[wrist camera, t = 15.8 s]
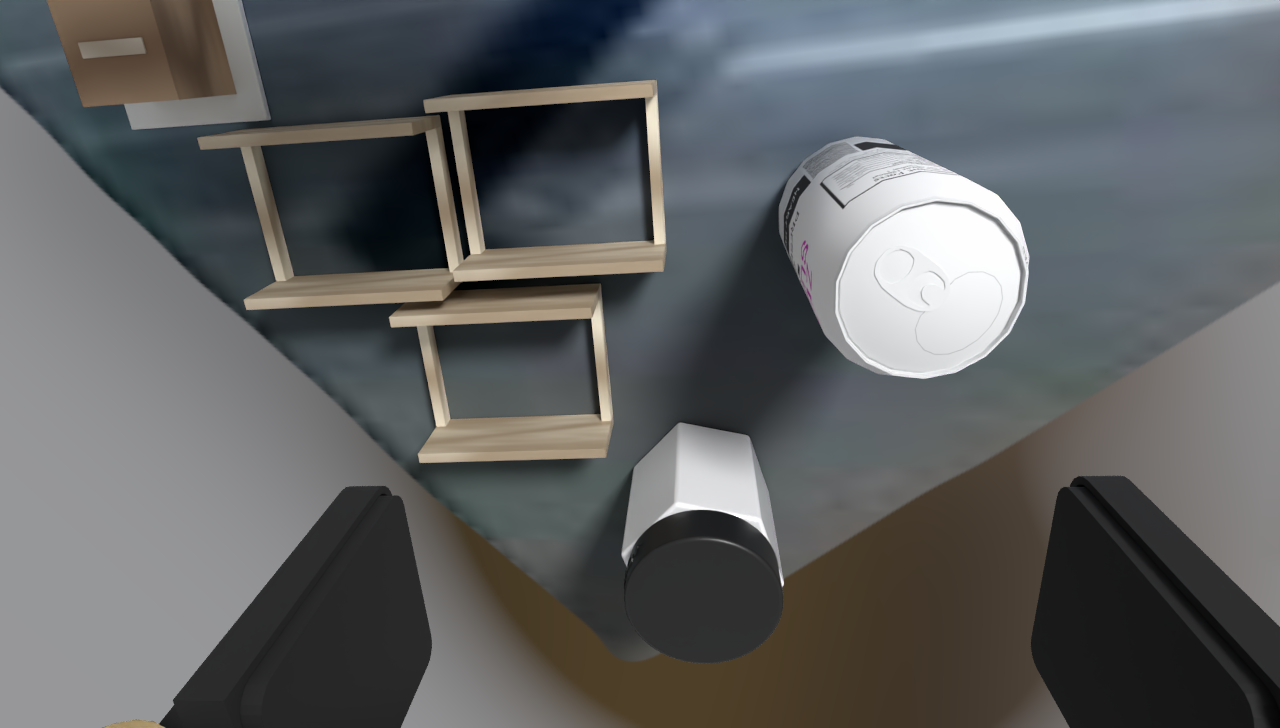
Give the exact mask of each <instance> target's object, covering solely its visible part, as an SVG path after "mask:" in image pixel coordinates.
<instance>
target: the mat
mask: <svg viewBox="0 0 1280 728" xmlns="http://www.w3.org/2000/svg"><path fill="white" fill-rule="evenodd" d="M212 2H213V6H214V10H215V13H216V17H217V21H218V25H219V28H220V32H221V36H222V40H223V44H224V47H225V51H226V55H227V59H228V62H229V66H230V70H231V74H232V78H233V81H234V85H235V89H236V93H237V94H232V95H222V96H212V97H202V98H192V99H181V100H169V101H156V102H144V103H131V104H124V106H125V109H126V112H127V115H128V118H129V121H130V125H131V128H132V130H137V129H151V128H165V127H179V126H193V125H207V124H221V123H235V122H249V121H263V120H271V117H270V113H269V108H268V104H267V100H266V96H265V92H264V88H263V84H262V80H261V76H260V72H259V68H258V64H257V60H256V56H255V52H254V48H253V44H252V40H251V36H250V32H249V28H248V24H247V20H246V16H245V12H244V8H243V4H242V0H212Z"/></svg>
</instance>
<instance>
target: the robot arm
mask: <svg viewBox="0 0 1280 728" xmlns="http://www.w3.org/2000/svg"><path fill="white" fill-rule="evenodd" d="M431 649H432V640H431V633H430V628H429V623H428V618H427V614H426V609H425V604H424V599H423V594H422V590H421V585H420V580H419V575H418V571H417V566H416V561H415V556H414V552H413V546H412V542H411V537H410V532H409V527H408V522H407V518H406V513H405V508H404V504H403V501H402V499H401V498H400V497H399V496H392V494H391V492H390V490H389V488H387V487H386V486H355V487H354V486H353V487H346V488H345V489H343V490H342V491H341V493H340V494H339V495H338V496H337V497H336V499H335V500H334V501H333V502H332V504H331V505H330V506H329V507H328V509H327V510H326V511H325V512H324V514H323V515H322V516H321V517H320V519H319V520H318V521H317V522H316V524H315V525H314V526H313V527H312V528H311V530H310V531H309V532H308V534H307V535H306V536H305V537H304V539H303V540H302V541H301V542H300V543H299V545H298V546H297V547H296V548H295V550H294V551H293V552H292V553H291V555H290V556H289V557H288V558H287V559H286V561H285V562H284V563H283V564H282V566H281V567H280V568H279V569H278V571H277V572H276V573H275V574H274V576H273V577H272V578H271V579H270V580H269V582H268V583H267V584H266V585H265V587H264V588H263V589H262V590H261V592H260V593H259V594H258V595H257V597H256V598H255V599H254V601H253V602H252V603H251V604H250V605H249V606H248V608H247V609H246V610H245V611H244V613H243V614H242V615H241V616H240V618H239V619H238V620H237V621H236V623H235V624H234V625H233V626H232V628H231V629H230V630H229V631H228V633H227V634H226V635H225V636H224V637H223V639H222V640H221V641H220V642H219V644H218V645H217V646H216V648H215V649H214V650H213V651H212V652H211V654H210V655H209V656H208V657H207V658H206V660H205V661H204V662H203V663H202V665H201V666H200V667H199V668H198V670H197V671H196V672H195V673H194V675H193V676H192V677H191V678H190V680H189V681H188V682H187V683H186V685H185V686H184V687H183V688H182V690H181V691H180V692H179V693H178V694H177V696H176V697H175V698H174V699H173V702H174V706H173V707H172V708H171V710H170V711H169V712H168V714H167V715H166V716H165V717H164V718H163V720H162V721H161V722H160V724H157V723H155V722H153V721H142V720H132V721H126V722H120V723H114V724H111V725H109V726H106V727H103V728H401V725H402V723H403V721H404V718H405V716H406V714H407V712H408V709H409V707H410V705H411V702H412V700H413V698H414V695H415V693H416V691H417V689H418V686H419V684H420V682H421V680H422V677H423V675H424V673H425V670H426V668H427V666H428V663H429V660H430V656H431ZM1031 650H1032V656H1033V660H1034V663H1035V665H1036V667H1037V670H1038V671H1039V673H1040V675H1041V677H1042V678H1043V680H1044V682H1045V684H1046V686H1047V688H1048V689H1049V691H1050V693H1051V695H1052V697H1053V698H1054V700H1055V701H1056V704H1057V705H1058V707H1059V709H1060V711H1061V713H1062V714H1063V716H1064V718H1065V720H1066V722H1067V723H1068V725H1069V727H1070V728H1280V627H1279V626H1278V625H1277V624H1276V623H1275V622H1274V621H1273V620H1272V619H1271V618H1270V617H1269V616H1268V615H1267V614H1266V613H1265V612H1264V611H1263V610H1262V609H1261V608H1260V607H1259V606H1258V605H1257V604H1256V603H1255V602H1254V601H1253V600H1252V599H1251V598H1250V597H1249V596H1248V595H1247V594H1246V593H1245V592H1243V591H1242V590H1241V589H1240V588H1239V587H1238V586H1237V585H1236V584H1235V583H1234V582H1233V581H1232V580H1231V579H1230V578H1229V577H1228V576H1227V575H1226V574H1225V573H1224V572H1223V571H1222V570H1221V569H1220V568H1219V567H1218V566H1217V565H1216V564H1215V563H1214V562H1213V561H1212V560H1211V559H1210V558H1209V557H1208V556H1207V555H1206V554H1204V552H1203V551H1202V550H1201V549H1200V548H1199V547H1198V546H1197V545H1196V544H1195V543H1193V542H1192V541H1191V540H1190V539H1189V538H1188V537H1187V536H1186V535H1185V534H1184V533H1183V532H1182V531H1181V530H1180V529H1179V528H1178V527H1177V526H1176V525H1175V524H1174V523H1173V522H1172V521H1171V520H1170V519H1169V518H1168V517H1167V516H1166V515H1165V514H1164V513H1163V512H1162V511H1161V510H1160V509H1159V508H1158V507H1157V506H1156V505H1155V504H1154V503H1153V502H1152V501H1151V500H1150V499H1148V498H1147V496H1145V495H1144V494H1143V493H1142V492H1141V491H1140V490H1139V489H1138V488H1137V487H1136V486H1135V485H1134V484H1133V483H1132V482H1131V481H1130V480H1129V479H1127V478H1126V477H1124V476H1079V477H1077V478H1075V479H1074V480H1073V481H1072V483H1071V485H1070V487H1063V488H1062V489H1060V491H1059V492H1058V496H1057V500H1056V506H1055V511H1054V517H1053V522H1052V527H1051V533H1050V538H1049V544H1048V549H1047V555H1046V560H1045V566H1044V571H1043V577H1042V582H1041V588H1040V594H1039V600H1038V605H1037V610H1036V616H1035V621H1034V626H1033V632H1032V639H1031Z"/></svg>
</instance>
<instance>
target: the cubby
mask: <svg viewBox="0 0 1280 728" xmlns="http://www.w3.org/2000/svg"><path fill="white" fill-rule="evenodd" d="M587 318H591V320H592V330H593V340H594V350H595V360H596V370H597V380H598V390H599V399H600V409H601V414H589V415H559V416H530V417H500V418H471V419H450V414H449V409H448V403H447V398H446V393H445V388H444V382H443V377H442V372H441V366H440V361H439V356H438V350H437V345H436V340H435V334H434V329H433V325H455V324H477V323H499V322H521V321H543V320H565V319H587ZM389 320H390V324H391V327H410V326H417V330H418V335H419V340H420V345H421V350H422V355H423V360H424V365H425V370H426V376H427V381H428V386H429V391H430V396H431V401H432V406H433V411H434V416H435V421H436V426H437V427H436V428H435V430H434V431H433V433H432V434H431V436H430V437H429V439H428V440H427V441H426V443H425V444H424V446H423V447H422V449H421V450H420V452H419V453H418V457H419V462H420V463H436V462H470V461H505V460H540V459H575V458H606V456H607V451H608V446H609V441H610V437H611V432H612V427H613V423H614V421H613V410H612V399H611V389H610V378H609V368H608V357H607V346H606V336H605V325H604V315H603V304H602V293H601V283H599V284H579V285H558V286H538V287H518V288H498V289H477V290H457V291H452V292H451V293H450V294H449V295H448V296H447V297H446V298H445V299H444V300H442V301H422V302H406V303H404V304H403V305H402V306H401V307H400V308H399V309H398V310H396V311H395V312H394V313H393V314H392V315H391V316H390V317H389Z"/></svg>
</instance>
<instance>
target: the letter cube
mask: <svg viewBox="0 0 1280 728" xmlns="http://www.w3.org/2000/svg"><path fill="white" fill-rule="evenodd" d="M47 3H48V5H49V8H50V11H51V14H52V17H53V20H54V23H55V26H56V29H57V32H58V35H59V38H60V41H61V43H62V46H63V49H64V52H65V55H66V58H67V61H68V64H69V67H70V70H71V73H72V76H73V79H74V82H75V84H76V87H77V90H78V93H79V96H80V99H81V102H82V105H83V107H92V106H105V105H118V104H131V103H144V102H156V101H169V100H181V99H192V98H202V97H212V96H222V95H232V94H237V93H236V89H235V85H234V81H233V78H232V74H231V70H230V66H229V62H228V59H227V55H226V51H225V47H224V44H223V40H222V36H221V32H220V28H219V25H218V21H217V17H216V13H215V10H214V6H213V2H212V0H47Z"/></svg>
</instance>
